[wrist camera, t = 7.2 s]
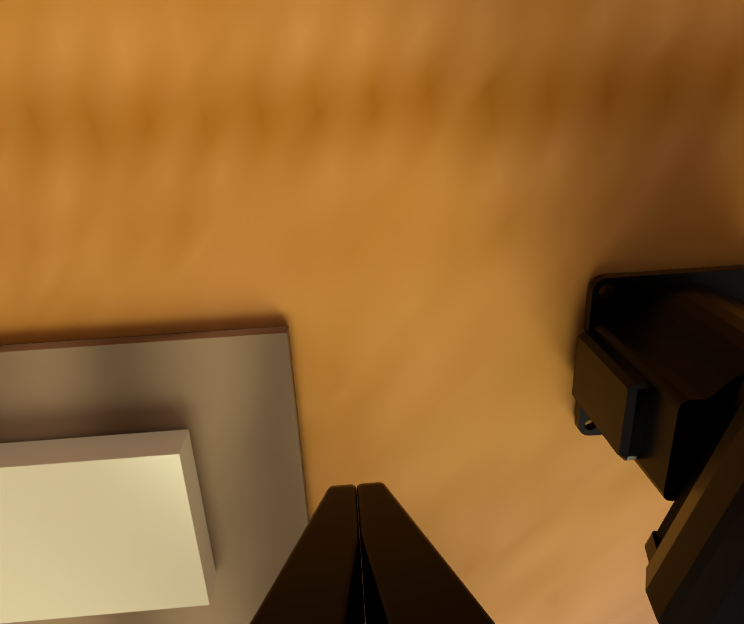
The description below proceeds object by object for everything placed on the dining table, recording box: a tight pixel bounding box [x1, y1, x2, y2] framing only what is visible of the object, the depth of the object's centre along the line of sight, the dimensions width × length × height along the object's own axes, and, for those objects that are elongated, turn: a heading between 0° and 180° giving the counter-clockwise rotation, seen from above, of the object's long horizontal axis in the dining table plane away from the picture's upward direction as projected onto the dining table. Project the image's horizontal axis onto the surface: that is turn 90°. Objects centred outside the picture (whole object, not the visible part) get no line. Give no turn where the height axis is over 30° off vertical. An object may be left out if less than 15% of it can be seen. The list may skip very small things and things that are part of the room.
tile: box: [0, 429, 216, 624], centre depth 22 cm, size 2×7×8 cm
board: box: [0, 326, 309, 624], centre depth 23 cm, size 14×14×1 cm
